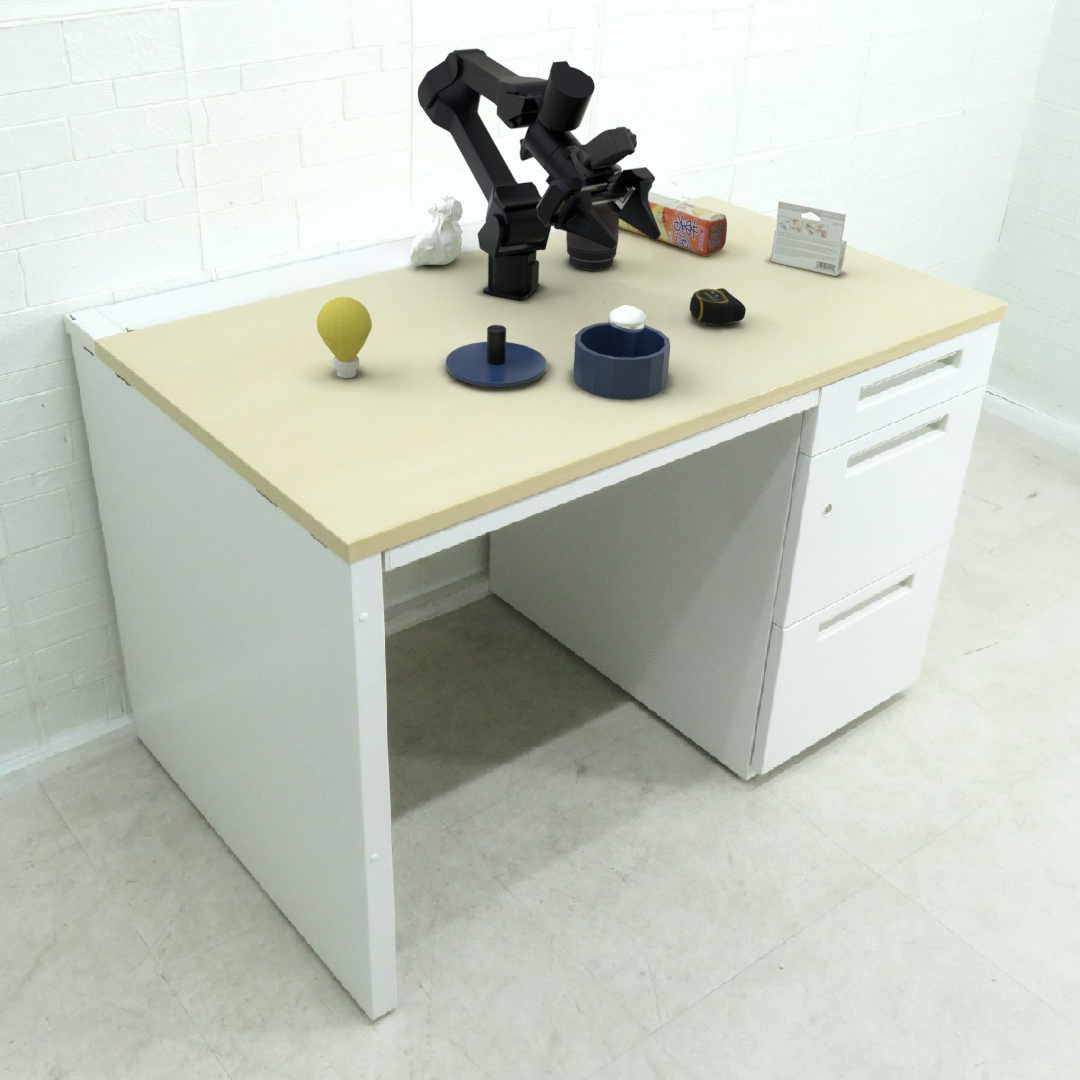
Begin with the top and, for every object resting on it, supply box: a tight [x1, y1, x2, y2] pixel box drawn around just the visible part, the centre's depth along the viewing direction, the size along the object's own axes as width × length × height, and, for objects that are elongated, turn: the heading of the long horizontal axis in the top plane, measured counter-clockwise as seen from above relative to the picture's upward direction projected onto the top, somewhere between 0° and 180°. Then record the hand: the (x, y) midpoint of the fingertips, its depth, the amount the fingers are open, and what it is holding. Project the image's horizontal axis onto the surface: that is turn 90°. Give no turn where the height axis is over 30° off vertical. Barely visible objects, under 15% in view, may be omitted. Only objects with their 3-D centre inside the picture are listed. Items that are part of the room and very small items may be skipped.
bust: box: [409, 195, 464, 267], centre depth 195 cm, size 12×8×11 cm
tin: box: [572, 321, 671, 400], centre depth 162 cm, size 12×12×5 cm
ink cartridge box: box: [770, 200, 848, 277], centre depth 198 cm, size 2×11×10 cm, turn 58°
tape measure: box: [689, 287, 747, 326], centre depth 180 cm, size 7×7×4 cm
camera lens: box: [565, 163, 623, 272], centre depth 195 cm, size 8×8×15 cm
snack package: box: [619, 190, 728, 257], centre depth 208 cm, size 21×7×7 cm, turn 47°
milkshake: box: [603, 302, 647, 358], centre depth 161 cm, size 5×5×10 cm
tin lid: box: [445, 324, 547, 388], centre depth 163 cm, size 13×13×6 cm
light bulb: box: [316, 296, 373, 379], centre depth 160 cm, size 7×7×10 cm
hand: (636, 241), depth 164 cm, fingers open, 9 cm apart
